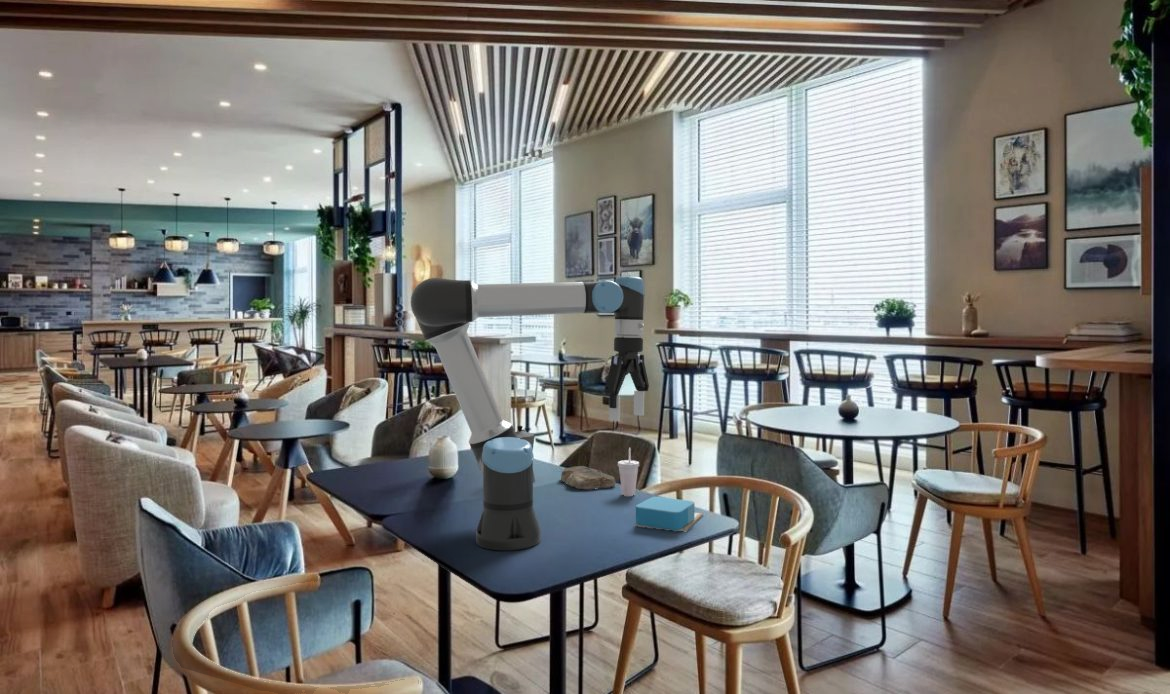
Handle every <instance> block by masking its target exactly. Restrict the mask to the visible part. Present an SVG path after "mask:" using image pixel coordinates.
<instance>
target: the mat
mask: <svg viewBox="0 0 1170 694" xmlns="http://www.w3.org/2000/svg"><path fill="white" fill-rule="evenodd" d="M702 517H704V513H703V512H694V520H693V521H692V522H690V523H689V524H687V525H686V526H685V527H683V528H682V529H680V530H674V531H673V532H677V531H686V530H688V529H689V528H690V527H691V526H692V525H693V524H694V523H695V522H696V521H697V520H698V519H699V518H700V519H702ZM700 519H699V520H700ZM699 520H698V521H699ZM698 521H697V522H698ZM697 522H696V523H697ZM696 523H695V524H696ZM695 524H694V525H695ZM694 525H693V526H694ZM637 526H638V528H645V527H647V528H646V529H653V528H656V527H650V526H643V525H638V524H636V522H634V527H637ZM693 526H692V527H693ZM692 527H691V528H692ZM691 528H690V529H691ZM661 529H663V528H656V529H655V530H661ZM690 529H689V530H690ZM689 530H688V531H689ZM664 531H669V529H665V530H664ZM686 532H687V531H686Z"/></svg>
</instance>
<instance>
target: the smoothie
mask: <svg viewBox="0 0 1170 694" xmlns="http://www.w3.org/2000/svg"><path fill="white" fill-rule="evenodd" d="M631 450H632V449H631V447H628V459H625V460H623V459H622V460H620V461H618V462H617V467H618V472H619V478H620V488H621V495H622V496H623V495H624V496H623V497H634V496H636V487H637V481H638V472H639V467H640V461H637V460H634V459H633V460H632V459H631V458H632V455H631V454H632V453H631ZM633 495H634V496H633Z"/></svg>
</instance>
